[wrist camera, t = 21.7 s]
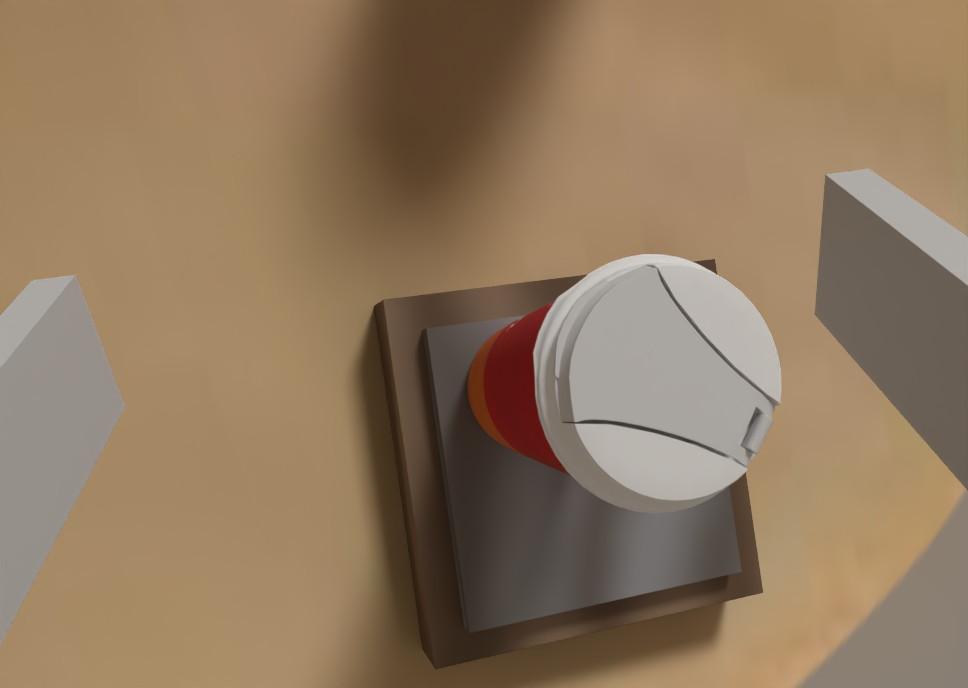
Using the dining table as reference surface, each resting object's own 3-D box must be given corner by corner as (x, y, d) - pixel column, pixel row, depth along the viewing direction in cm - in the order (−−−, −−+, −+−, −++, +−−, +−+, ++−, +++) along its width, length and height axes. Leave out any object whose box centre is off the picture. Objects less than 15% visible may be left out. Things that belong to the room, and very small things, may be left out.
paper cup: (639, 355, 40) (837, 334, 27) (560, 507, 39) (727, 567, 25) (493, 264, 39) (625, 193, 25) (406, 419, 37) (495, 432, 24)
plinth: (422, 649, 41) (440, 676, 37) (374, 305, 41) (386, 297, 37) (730, 579, 45) (775, 597, 41) (685, 267, 45) (725, 256, 41)
